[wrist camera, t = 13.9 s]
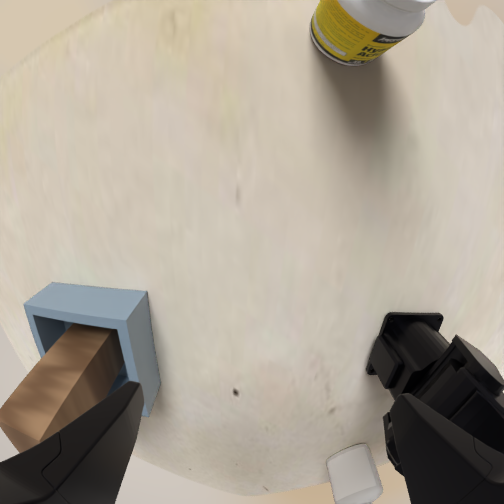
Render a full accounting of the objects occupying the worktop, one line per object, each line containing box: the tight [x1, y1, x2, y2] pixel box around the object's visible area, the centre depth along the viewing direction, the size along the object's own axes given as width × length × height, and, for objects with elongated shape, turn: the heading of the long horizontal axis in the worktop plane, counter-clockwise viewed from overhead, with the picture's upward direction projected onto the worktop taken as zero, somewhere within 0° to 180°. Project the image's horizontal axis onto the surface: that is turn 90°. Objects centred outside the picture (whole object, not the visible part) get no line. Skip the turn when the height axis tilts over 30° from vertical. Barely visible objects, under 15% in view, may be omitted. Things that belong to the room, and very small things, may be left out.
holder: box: [24, 282, 161, 417], centre depth 21 cm, size 10×10×4 cm
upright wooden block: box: [0, 323, 125, 453], centre depth 16 cm, size 4×4×13 cm
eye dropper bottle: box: [326, 444, 383, 504], centre depth 23 cm, size 4×6×12 cm
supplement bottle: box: [310, 0, 436, 66], centre depth 11 cm, size 5×5×10 cm
